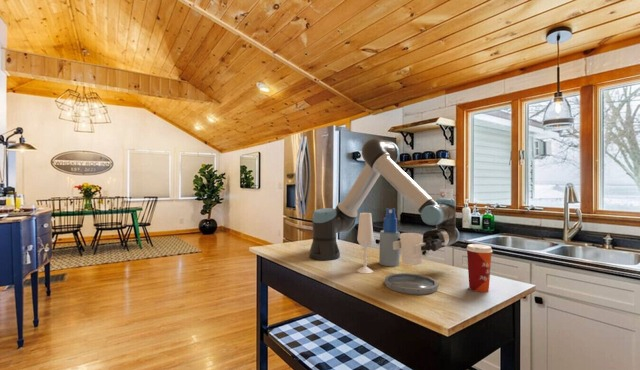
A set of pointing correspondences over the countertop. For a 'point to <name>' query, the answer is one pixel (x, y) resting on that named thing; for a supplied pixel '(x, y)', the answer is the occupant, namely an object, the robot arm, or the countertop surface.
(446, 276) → the countertop surface
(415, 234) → the white cup
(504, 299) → the countertop surface
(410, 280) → the plate
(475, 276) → the coffee cup
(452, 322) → the countertop surface
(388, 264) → the spray bottle
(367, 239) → the champagne flute
